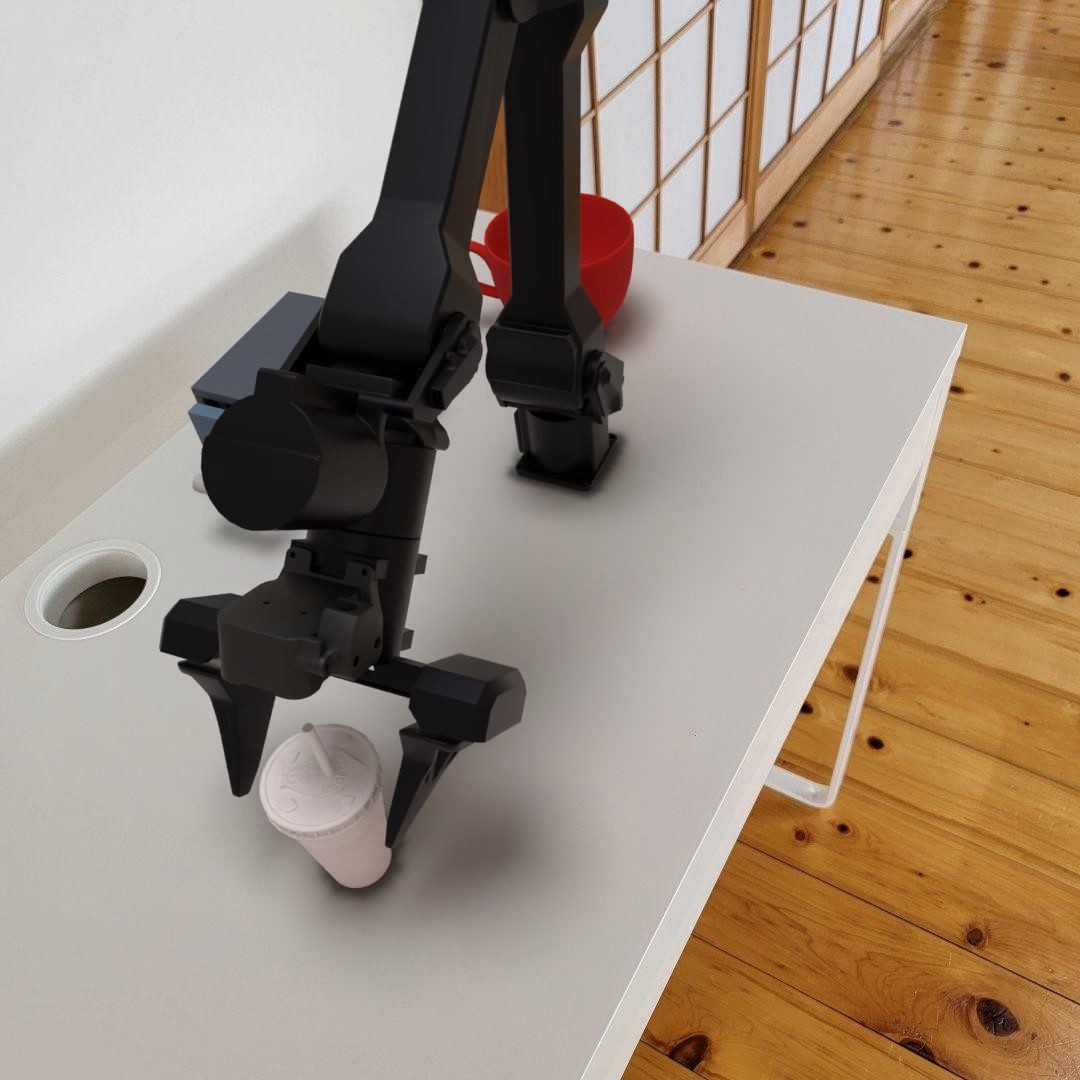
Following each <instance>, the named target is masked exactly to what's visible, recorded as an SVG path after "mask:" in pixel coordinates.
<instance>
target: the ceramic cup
mask: <svg viewBox="0 0 1080 1080" xmlns="http://www.w3.org/2000/svg"><path fill="white" fill-rule="evenodd" d="M634 227H635V226H634V222H633V219H632V217H631V214H630V213H629V212H628V211H627V210H626V209H625V208H624V207H623V206H622V205H620V204H619V203H617V202H616V201H614V200H612V199H609V198H606V197H604V196H601V195H596V194H592V193H584V192H581V212H580V280H581V285H582V287H583V289H584V290H585V292H586V293H587V295H588V297H589V298H590V300H591V301H592V303H593V305H594V306H595V308H596V309H597V311H598V313H599V314H600V316H601V318H602V320H603V329H605V328H606V327H607V326H608V325H609V324H610V323H611V321H612V320H613V319H614V318H615V316H616V315H617V313H618V312H619V310H620V309H621V307H622V305H623V304H624V301H625V298H626V295H627V292H628V290H629V287H630V283H631V278H632V274H633V266H634V254H635V230H634V229H635V228H634ZM483 243H484V244H483ZM483 243H480V242H479V241H474V240H471V245H470V252H469V253H473V254H475V255H477V256H478V257H480V258H481V260H483V261H484V263H485V264H486V266H487V268H488V270H489V271H490V274H491V275H490V276H491V278H492V282H493V285H491V284H487V283H486V282H485V283H484V282H482V281H480V280H478V282H479V285H480V288H481V291H482V294H483V296H486V297H489V298H493V299H496V300H499V301H500V302H501V304H502V306H503V307H504V306H505V304H506V302H507V301H508V299H509V297H510V296H511V276H510V251H509V227H508V207H506V208H504V209H503V210H501V211H500V212H498V213H497V214H496V215H495V216H494V217H493V218H492V219H491V221H490V222H489V223H488V225H487V227H486V229H485V231H484V236H483Z"/></svg>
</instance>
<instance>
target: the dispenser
mask: <svg viewBox="0 0 1080 1080" xmlns="http://www.w3.org/2000/svg"><path fill="white" fill-rule="evenodd" d="M324 300H325V297H322V296H316V295H310V294H305V293H300V292H295V291H289V290H288V291H287V292H286V293H285V294H284V295H283V296H282V297H281V298H280V299H279V300H278V301H277V302H276V303H275V304H274V305H272V307H271V308H270V309H268V311H267V312H266V313H265V314H264V315H263V316H262V317H261V318H260V319H259V320H258V321H257V322H255V323H254V324H253V326H251V327H250V329H249V330H247V331H246V332H245V333H244V334H243V335H242V336H241V337H240V338H239V339H238V340H237V341H236V342H235V343H234V344H233V345H232V346H231V347H230V348H229V349H228V350H227V351H226V352H225V353H224V354H223V355H221V356H220V358H219V359H218V360H217V361H216V362H215V363H214V364H213V365H212V366H211V367H210V368H209V369H208V370H207V371H206V372H204V373H203V375H202V376H201V377H200V378H198V380H197V381H195V382H194V383H193V384H192V385H191V386H190V390H191V392H192V394H193V396H194V399H195V401H196V403H200V404H204V405H208V406H212V407H216V408H220V407H219V404H218V402H217V401H219V402H223V403H227V404H231V405H232V404H233V403H235V402H236V401H238V400H240V399H243V398H245V397H247V396H249V395H254V389H255V383H256V377H257V371H258V370H259V369H260V368H261V367H265V368H271V369H277V370H279V369H280V368H281V366H282V365H283V363H284V362H285V360H286V359H287V357H288V356H289V354H290V353H291V351H292V350H293V348H294V347H295V345H296V344H297V342H298V341H299V339H300V338H301V336H302V335H303V333H304V332H305V330H306V329H307V327H308V326H309V324H310V323H311V321H312V320H313V318H314V317H315V315H316V314H317V312H318V311H319V309H320V308H321V306H322V305H323V303H324Z"/></svg>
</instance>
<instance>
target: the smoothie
mask: <svg viewBox="0 0 1080 1080" xmlns="http://www.w3.org/2000/svg"><path fill="white" fill-rule="evenodd" d="M384 774H385V772H384V767H383V762H382V758H381V757H380V754H379V753H378V751H377V750H376V747H375V746H374V744H373V742H372V741H371V740H370V739H369V737H367V736H366V734H364V733H363V732H362V731H361V730H358V729H357V728H354V727H352V726H349V725H345V724H339V723H322V724H318V725H314V724H313V723H311V722H306V723H305V724H304V725H302V728H301V730H300V731H297V732H296V733H294V734H293V735H291V736H290V737H288V738H287V739H285V740H284V741H282V743H281V744H280V745H279V746H277V748H275V750H274V751H273V752H272V753H271V755H270V756H269V758H268V759H267V761H266V763H265V765H264V767H263V769H262V772H261V776H260V778H259V779H260V781H259V798H260V801H261V804H262V807H263V809H264V812H265V814H266V816H267V818H268V820H269V822H270V823H271V825H273V826H274V827H275V828H276V829H277V830H278V831H279V832H280V833H282V834H284V835H286V836H288V837H290V838H292V839H295V840H296V841H297V842H298V843H299V845H301V846H302V847H303V848H304V849H305V851H307V852H308V853H309V854H310V855H311V856H312V857H313V858H314V860H315V861H317V862H318V864H320V865H321V867H322V868H323V869H325V871H326V872H327V873H328V874H329V875H330V876H331V877H332V878H333V879H334V880H335V881H336V882H337V883H338V884H340V885H341V886H344V887H346V888H349V889H350V888H351V889H360V888H365V887H368V886H370V885H372V884H374V883H376V882H378V881H379V880H380V879H381V878H382V877H383V876H384V874H386V872H387V870H388V868H389V866H390V864H391V861H392V849H390V848H387V847H385V837H386V826H387V817H386V816H387V815H386V811H385V805H384V799H383V793H382V789H383V783H384V776H385V775H384Z"/></svg>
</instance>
